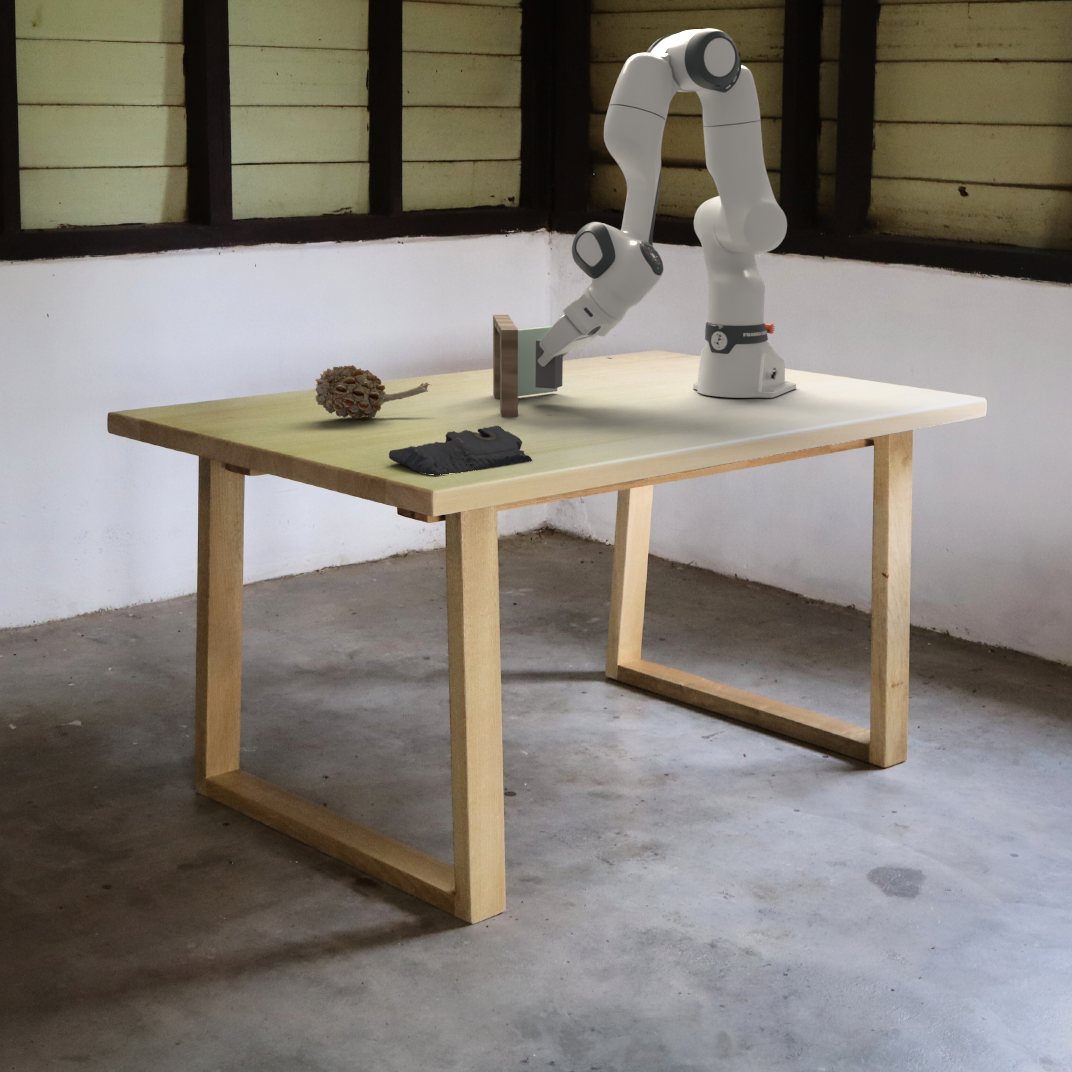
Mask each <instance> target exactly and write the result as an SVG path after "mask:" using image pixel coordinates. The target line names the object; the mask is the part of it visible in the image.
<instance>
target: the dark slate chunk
mask: <svg viewBox="0 0 1072 1072" xmlns="http://www.w3.org/2000/svg"><path fill="white" fill-rule="evenodd" d="M522 444H523V441H522V439H521V438H520V437H519V436H517V435H516V434H515V435H514V434H513V433H511V432H509V431H507V430H505V429H504V428H502V426H500V425H493V426H489V427H483V428H477V431H472V430H467V429H464V430H462V431H460V432H456V431H448V432H447V433H446V434H445V441H444V442H439V441H435V442H432V443H431V442H430V443H424V444H422V445H417V446H408V447H403V448H400V449H397V448H396V449H392V450H390V451H389V452H388V458H389V460H391V461H393V462H395V463H398V464H400V465H403V466H407V467H409V468H410V469H411V470H414V471H416V472H418V473H420V472H421V474H422V473H426V474H434V475H440V474H441V475H442V474H449V473H455V474H462V473H461V472H463V473H468V471H469V472H475V470H476V471H481V470H488V469H493V468H499V467H504V466H511V465H512V466H513V465H517V464H523V463H528V462H529V461H530V462H532V461H533V459H531V458H532V457H531V456H529V455H526V454H525V451H524V450H523V449H522V446H523V445H522ZM521 449H522V450H521ZM530 462H529V463H530ZM473 470H474V471H473Z"/></svg>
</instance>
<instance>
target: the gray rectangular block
mask: <svg viewBox="0 0 1072 1072" xmlns="http://www.w3.org/2000/svg"><path fill="white" fill-rule="evenodd" d="M541 340H542V339H540V340H536V379H535V387H537V388H551V389H556V388H557V389H558V388H560V387H563V377H564V376H563V371H564V370H563V364H564V363H563V362H564V361H563V360H564V356H563V354H560V355H557V356H555V357H554V358H553V359H552V361H551V362H550V363H549V364H548V365H546V366H544V367H543V366H541V365H540V364H539V363H538V359H539V358H540V357H541V356H542V355H543V353H544V350H543V349H542V348H541V347H540V345H539V344H540V342H541Z"/></svg>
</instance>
